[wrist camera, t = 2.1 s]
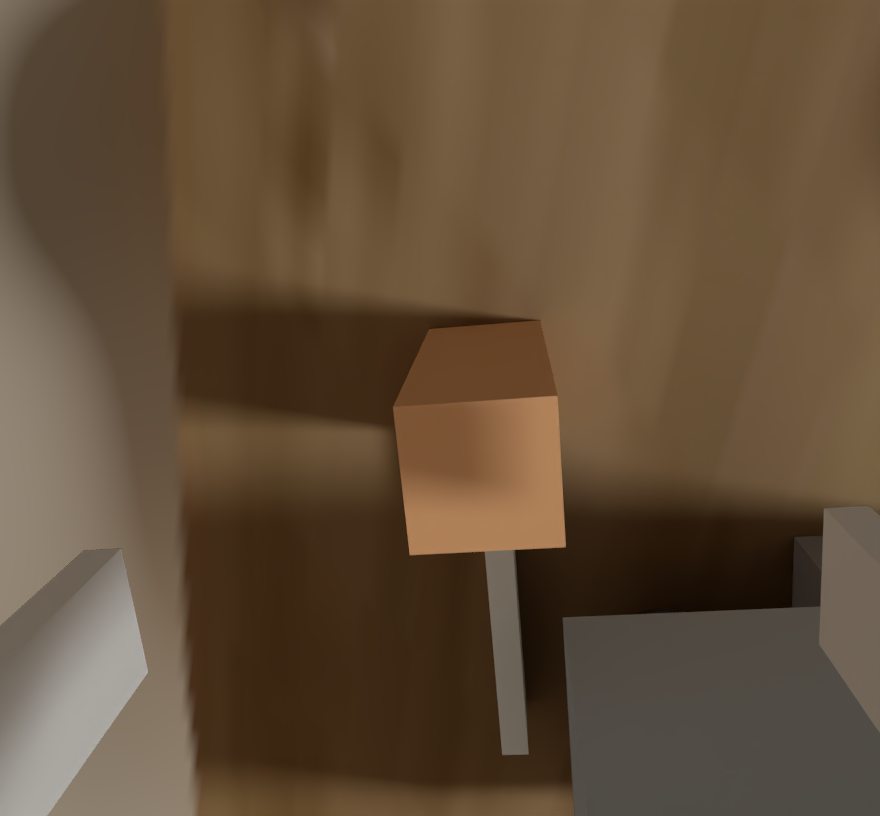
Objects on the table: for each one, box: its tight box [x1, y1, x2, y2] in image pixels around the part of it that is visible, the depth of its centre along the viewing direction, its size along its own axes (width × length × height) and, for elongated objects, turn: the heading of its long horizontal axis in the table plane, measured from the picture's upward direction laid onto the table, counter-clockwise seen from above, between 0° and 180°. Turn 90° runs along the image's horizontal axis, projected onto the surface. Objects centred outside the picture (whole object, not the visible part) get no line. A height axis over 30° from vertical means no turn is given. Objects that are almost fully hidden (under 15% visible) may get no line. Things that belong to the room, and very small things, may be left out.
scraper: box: [393, 320, 566, 755], centre depth 27 cm, size 16×4×10 cm, turn 5°
